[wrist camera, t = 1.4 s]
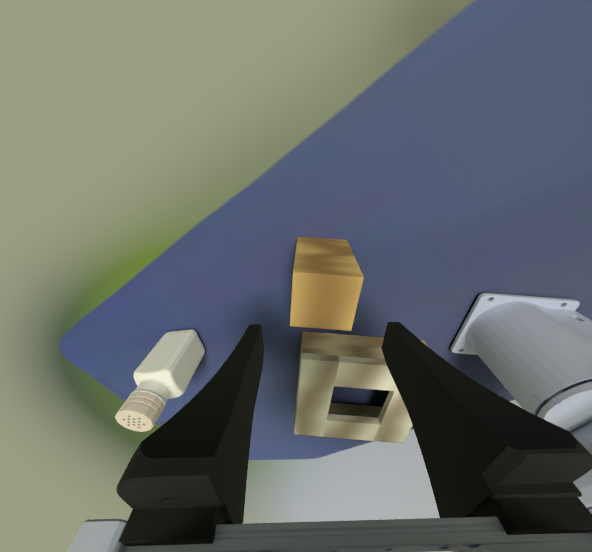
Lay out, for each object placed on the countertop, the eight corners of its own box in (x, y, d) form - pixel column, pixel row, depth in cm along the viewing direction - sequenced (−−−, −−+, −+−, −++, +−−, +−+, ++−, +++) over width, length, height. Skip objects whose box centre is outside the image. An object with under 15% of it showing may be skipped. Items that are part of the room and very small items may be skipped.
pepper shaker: (208, 350, 28) (165, 433, 20) (179, 353, 28) (125, 435, 20) (196, 326, 26) (143, 406, 18) (165, 329, 27) (100, 409, 18)
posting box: (424, 340, 25) (443, 370, 22) (392, 411, 32) (402, 443, 29) (302, 331, 26) (301, 359, 22) (295, 403, 32) (294, 434, 29)
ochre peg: (346, 240, 20) (363, 277, 14) (339, 282, 22) (351, 330, 16) (297, 236, 20) (293, 271, 14) (295, 279, 22) (290, 326, 16)
